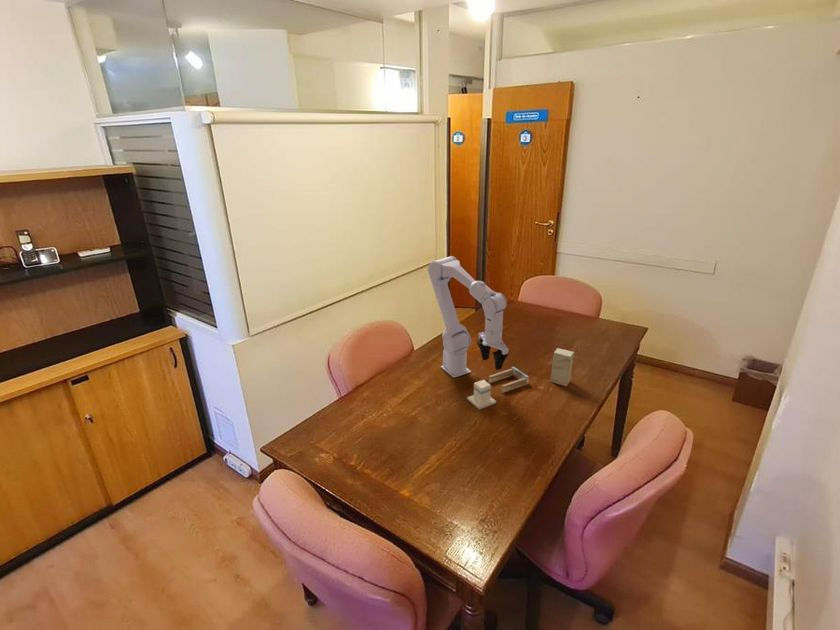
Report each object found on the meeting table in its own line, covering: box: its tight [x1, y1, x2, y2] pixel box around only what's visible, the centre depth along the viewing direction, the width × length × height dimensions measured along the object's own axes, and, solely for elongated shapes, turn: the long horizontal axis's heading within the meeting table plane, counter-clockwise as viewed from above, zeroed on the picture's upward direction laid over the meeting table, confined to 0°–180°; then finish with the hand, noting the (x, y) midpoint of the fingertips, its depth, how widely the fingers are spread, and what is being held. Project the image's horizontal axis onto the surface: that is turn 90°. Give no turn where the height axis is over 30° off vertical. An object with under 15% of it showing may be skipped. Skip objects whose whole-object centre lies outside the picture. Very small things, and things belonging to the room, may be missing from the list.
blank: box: [473, 379, 492, 404], centre depth 150 cm, size 4×4×6 cm
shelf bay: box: [488, 366, 530, 394], centre depth 161 cm, size 8×12×3 cm
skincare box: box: [549, 347, 575, 387], centre depth 159 cm, size 6×4×12 cm
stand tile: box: [466, 394, 497, 410], centre depth 151 cm, size 7×7×1 cm
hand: (491, 364), depth 155 cm, fingers open, 7 cm apart
